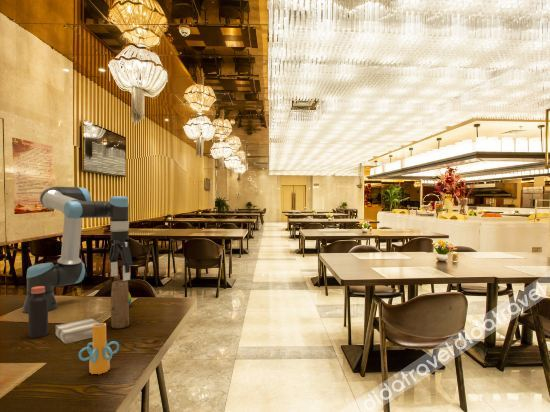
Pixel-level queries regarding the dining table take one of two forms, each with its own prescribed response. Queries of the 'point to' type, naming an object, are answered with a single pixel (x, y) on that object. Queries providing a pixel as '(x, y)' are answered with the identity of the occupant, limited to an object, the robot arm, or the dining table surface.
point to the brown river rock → (119, 304)
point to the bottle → (38, 313)
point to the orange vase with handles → (99, 350)
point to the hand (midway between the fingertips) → (120, 278)
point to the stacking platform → (75, 330)
